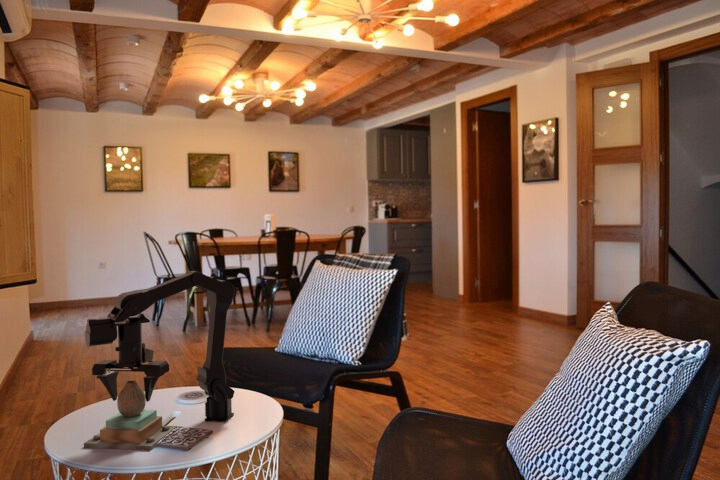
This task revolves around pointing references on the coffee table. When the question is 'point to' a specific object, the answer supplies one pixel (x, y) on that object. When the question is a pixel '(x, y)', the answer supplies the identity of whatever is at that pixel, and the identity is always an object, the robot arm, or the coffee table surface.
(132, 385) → the vase
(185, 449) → the coffee table surface
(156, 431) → the stacked plates with bolts
